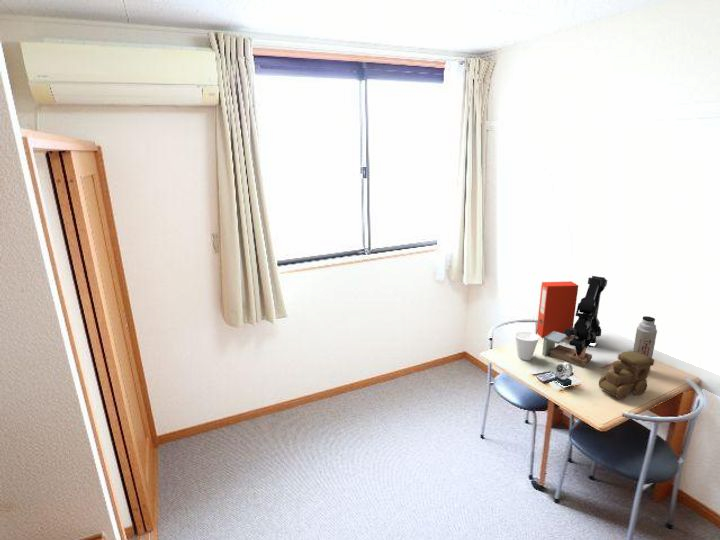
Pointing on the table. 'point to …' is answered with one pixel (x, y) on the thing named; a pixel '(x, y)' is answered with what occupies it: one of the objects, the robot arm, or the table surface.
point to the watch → (561, 370)
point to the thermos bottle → (645, 337)
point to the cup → (526, 344)
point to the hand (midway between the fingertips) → (580, 353)
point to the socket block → (570, 356)
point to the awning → (552, 341)
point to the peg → (582, 354)
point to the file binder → (556, 307)
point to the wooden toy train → (627, 375)
